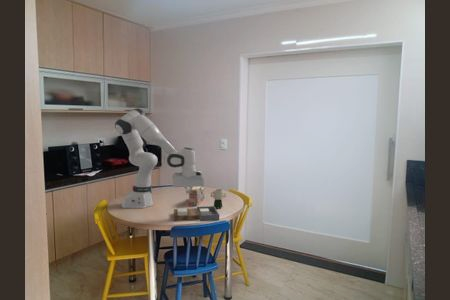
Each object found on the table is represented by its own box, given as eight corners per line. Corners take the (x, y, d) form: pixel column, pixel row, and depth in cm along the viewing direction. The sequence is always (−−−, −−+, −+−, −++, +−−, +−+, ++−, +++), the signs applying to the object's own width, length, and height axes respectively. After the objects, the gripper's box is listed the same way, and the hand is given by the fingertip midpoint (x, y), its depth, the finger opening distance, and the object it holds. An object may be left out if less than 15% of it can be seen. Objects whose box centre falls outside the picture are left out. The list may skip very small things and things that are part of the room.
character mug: (225, 206, 227) (225, 188, 226) (225, 209, 220) (226, 191, 219) (210, 206, 227) (210, 188, 226) (210, 209, 220) (210, 191, 219)
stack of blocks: (196, 198, 248) (197, 183, 247) (204, 199, 247) (204, 183, 246) (188, 205, 227) (189, 189, 226) (197, 206, 226) (197, 189, 225)
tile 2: (177, 215, 195) (177, 211, 194) (177, 212, 200) (177, 208, 200) (187, 215, 196) (187, 211, 195) (186, 212, 202) (186, 208, 201)
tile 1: (200, 215, 205) (200, 211, 204) (199, 212, 211) (199, 208, 210) (209, 214, 206) (209, 211, 206) (208, 211, 212) (208, 208, 212)
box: (200, 220, 195) (200, 215, 194) (197, 211, 213) (197, 206, 213) (219, 219, 197) (219, 214, 197) (214, 210, 216) (214, 206, 215)
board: (174, 220, 193) (174, 216, 193) (173, 213, 208) (173, 209, 208) (200, 219, 197) (200, 215, 196) (197, 212, 211) (197, 208, 211)
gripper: (172, 173, 196) (172, 195, 197) (204, 173, 201) (204, 193, 203) (172, 171, 202) (171, 192, 204) (202, 171, 207) (202, 191, 209)
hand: (188, 193), depth 203 cm, fingers closed
